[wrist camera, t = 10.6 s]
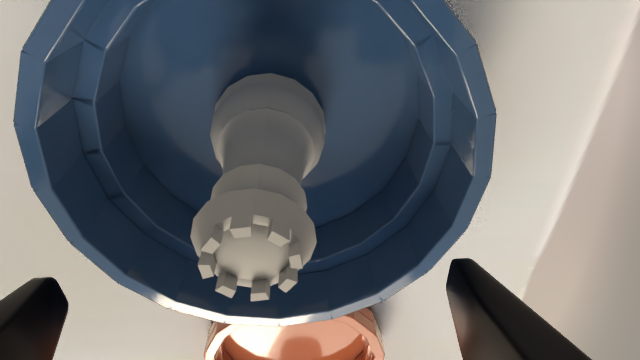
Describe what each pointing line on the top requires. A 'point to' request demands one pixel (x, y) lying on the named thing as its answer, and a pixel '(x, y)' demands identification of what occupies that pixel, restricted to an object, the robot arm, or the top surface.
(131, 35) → the bowl
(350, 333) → the orange round lid
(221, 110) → the rook chess piece
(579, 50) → the top surface
